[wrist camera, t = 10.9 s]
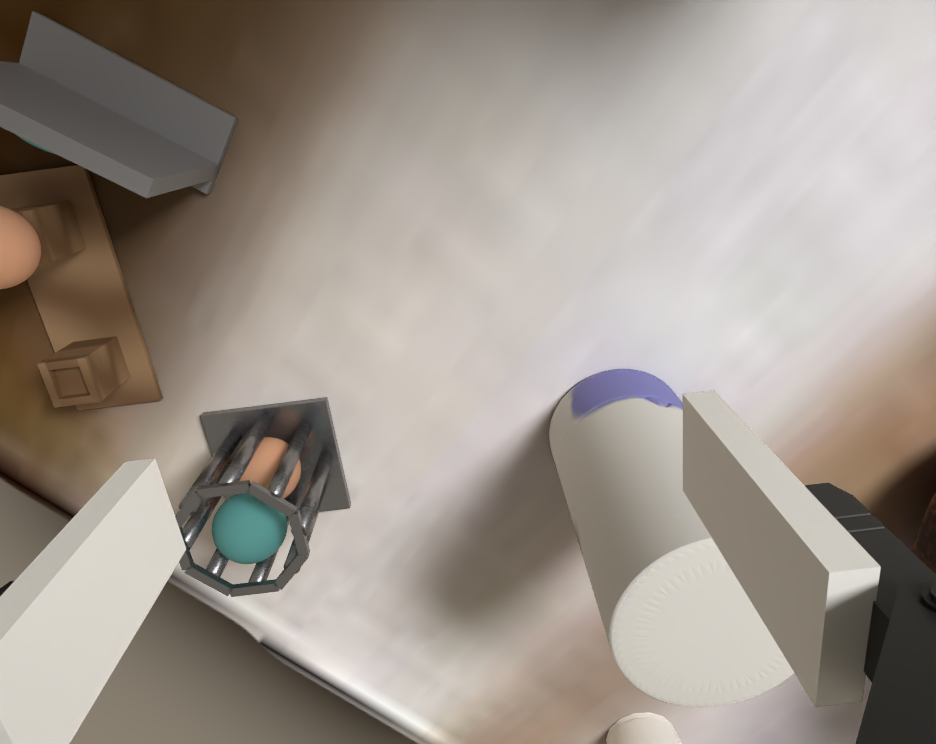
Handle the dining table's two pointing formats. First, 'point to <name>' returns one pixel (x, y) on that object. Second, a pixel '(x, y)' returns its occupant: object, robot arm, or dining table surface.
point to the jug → (927, 537)
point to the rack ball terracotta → (17, 248)
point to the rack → (81, 293)
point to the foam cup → (642, 730)
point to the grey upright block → (110, 114)
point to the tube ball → (270, 464)
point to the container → (655, 548)
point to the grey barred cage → (315, 492)
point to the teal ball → (248, 529)
